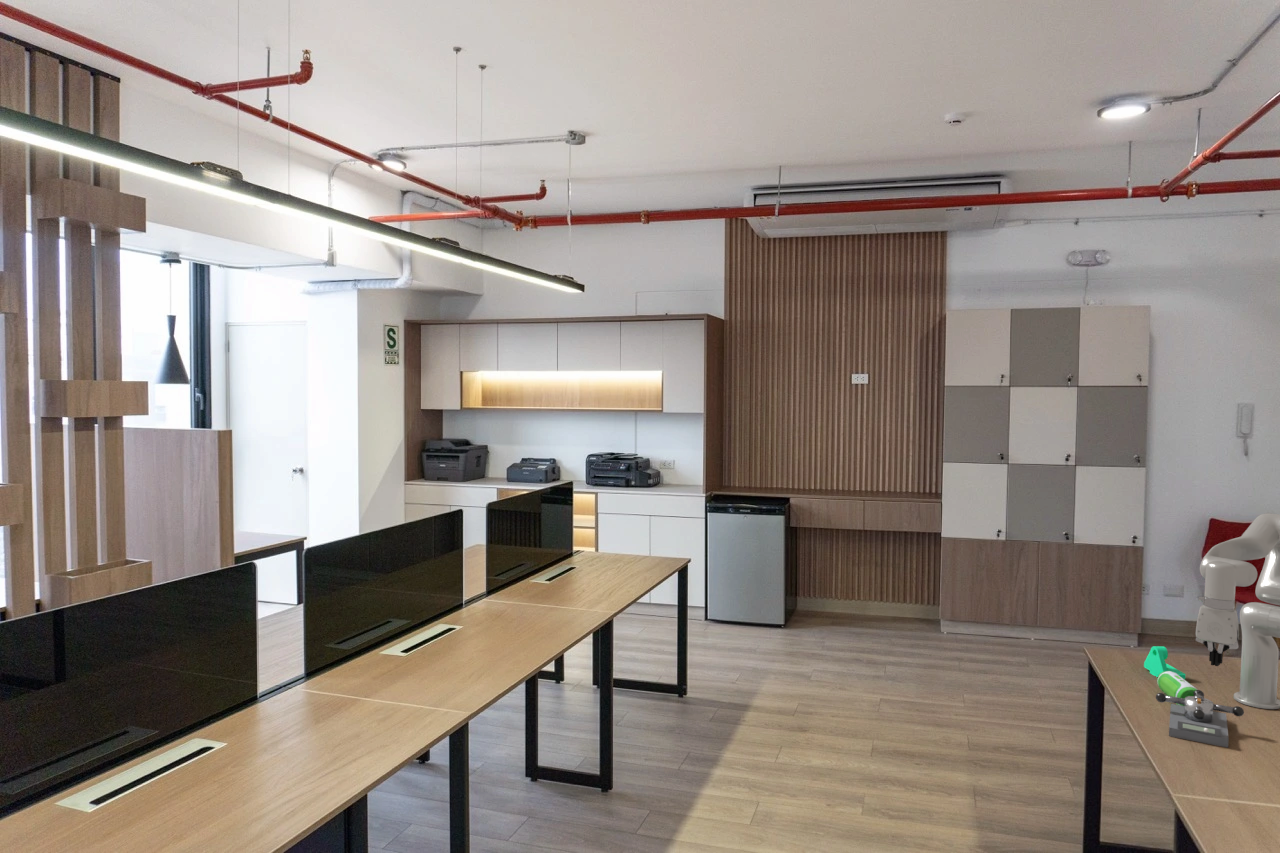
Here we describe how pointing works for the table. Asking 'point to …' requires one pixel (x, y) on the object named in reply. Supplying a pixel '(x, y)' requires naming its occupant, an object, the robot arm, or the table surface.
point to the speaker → (1174, 685)
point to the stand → (1198, 727)
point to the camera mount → (1159, 662)
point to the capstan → (1199, 706)
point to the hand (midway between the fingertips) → (1215, 664)
